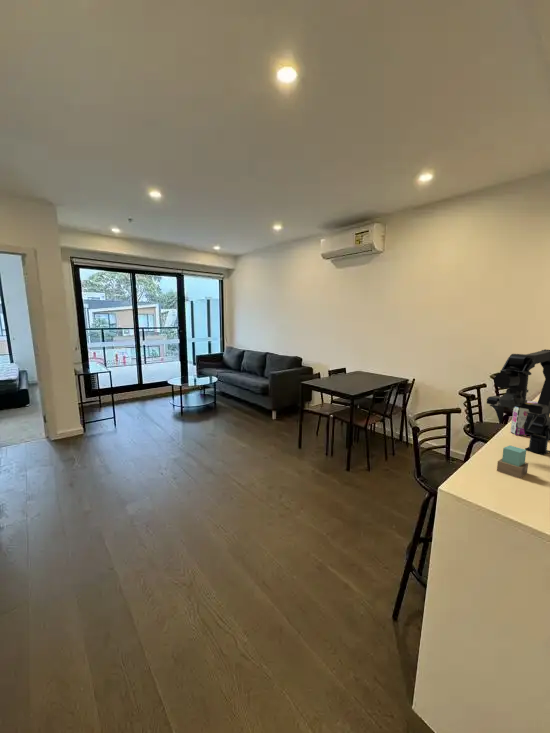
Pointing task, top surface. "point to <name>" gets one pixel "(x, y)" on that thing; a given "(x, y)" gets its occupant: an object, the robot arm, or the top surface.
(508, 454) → the teal cube
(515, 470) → the walnut block
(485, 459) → the top surface
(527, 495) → the top surface
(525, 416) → the candy bar box
